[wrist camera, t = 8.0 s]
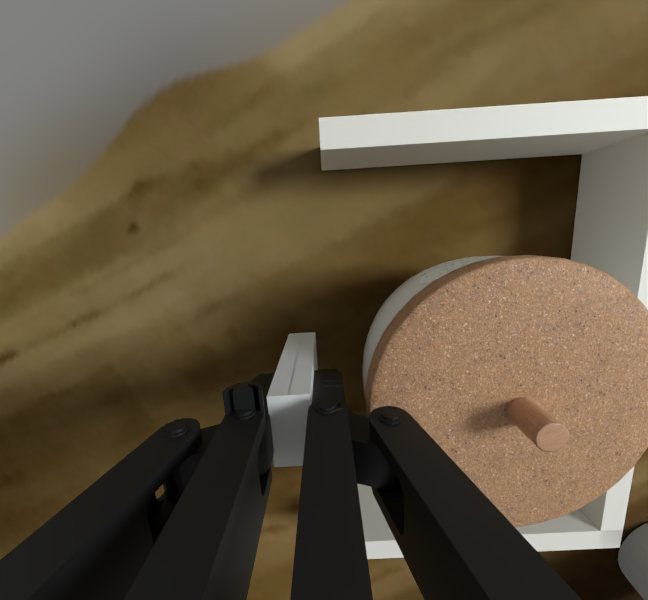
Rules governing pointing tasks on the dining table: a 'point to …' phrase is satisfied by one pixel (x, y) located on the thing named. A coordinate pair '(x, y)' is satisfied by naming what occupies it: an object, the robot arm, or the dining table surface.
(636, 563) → the coffee cup
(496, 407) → the lidded jar
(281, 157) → the dining table surface
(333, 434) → the robot arm
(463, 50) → the dining table surface
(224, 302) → the dining table surface
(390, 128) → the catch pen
